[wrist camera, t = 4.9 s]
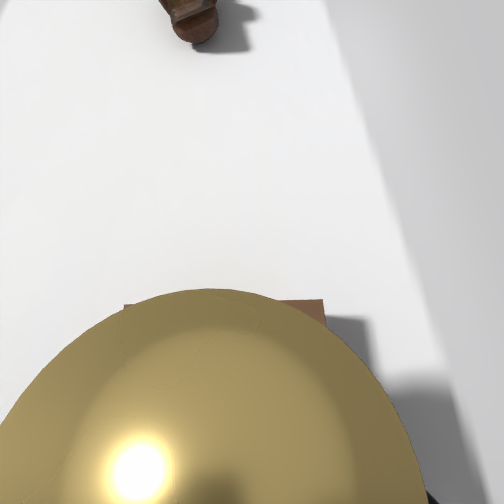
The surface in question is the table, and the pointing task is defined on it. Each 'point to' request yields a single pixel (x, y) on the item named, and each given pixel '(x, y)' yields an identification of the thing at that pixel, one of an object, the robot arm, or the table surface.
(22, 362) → the table surface
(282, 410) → the pin
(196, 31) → the bolt
